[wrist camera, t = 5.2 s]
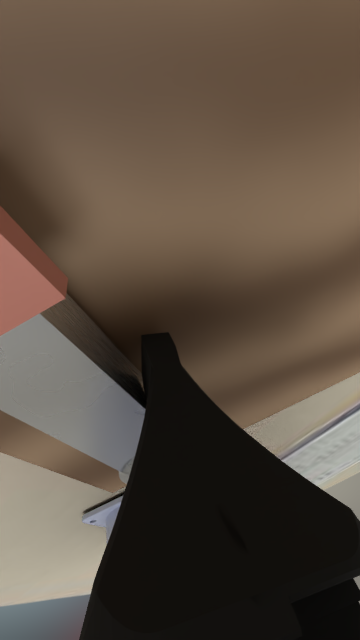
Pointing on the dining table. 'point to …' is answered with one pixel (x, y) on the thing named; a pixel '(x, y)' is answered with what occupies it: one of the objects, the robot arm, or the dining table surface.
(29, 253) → the keeper
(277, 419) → the dining table surface
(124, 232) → the board
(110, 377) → the link
